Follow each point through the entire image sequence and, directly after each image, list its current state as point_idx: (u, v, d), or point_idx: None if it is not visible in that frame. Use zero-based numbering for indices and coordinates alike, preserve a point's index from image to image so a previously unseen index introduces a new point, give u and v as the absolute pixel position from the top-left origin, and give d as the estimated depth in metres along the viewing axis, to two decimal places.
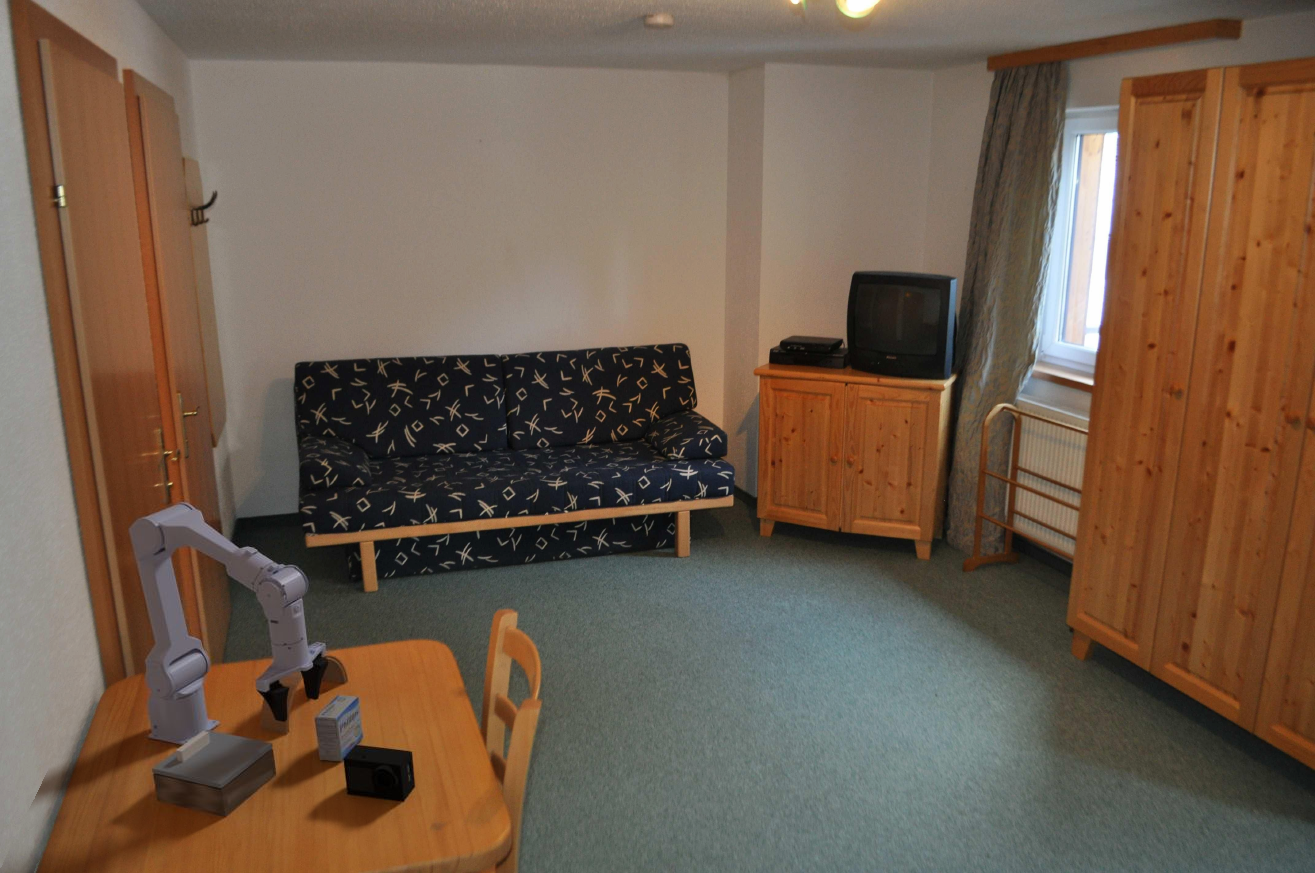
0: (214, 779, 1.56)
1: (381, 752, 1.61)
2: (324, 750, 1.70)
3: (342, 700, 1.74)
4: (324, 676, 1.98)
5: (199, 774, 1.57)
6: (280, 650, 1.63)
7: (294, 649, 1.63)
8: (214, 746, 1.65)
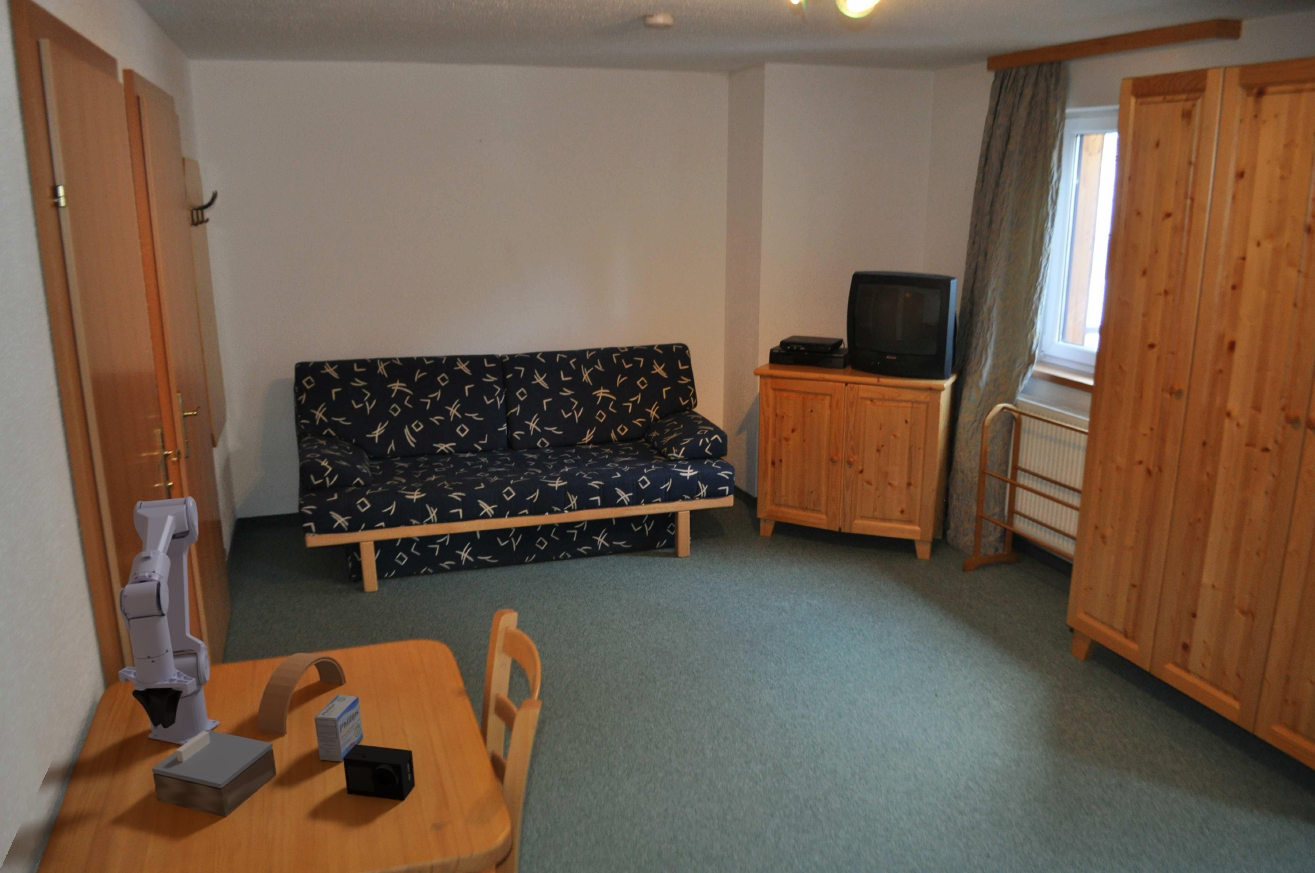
0: (214, 779, 1.56)
1: (381, 751, 1.61)
2: (324, 750, 1.70)
3: (342, 700, 1.74)
4: (322, 677, 1.97)
5: (199, 774, 1.57)
6: None
7: (134, 662, 1.59)
8: (214, 746, 1.65)
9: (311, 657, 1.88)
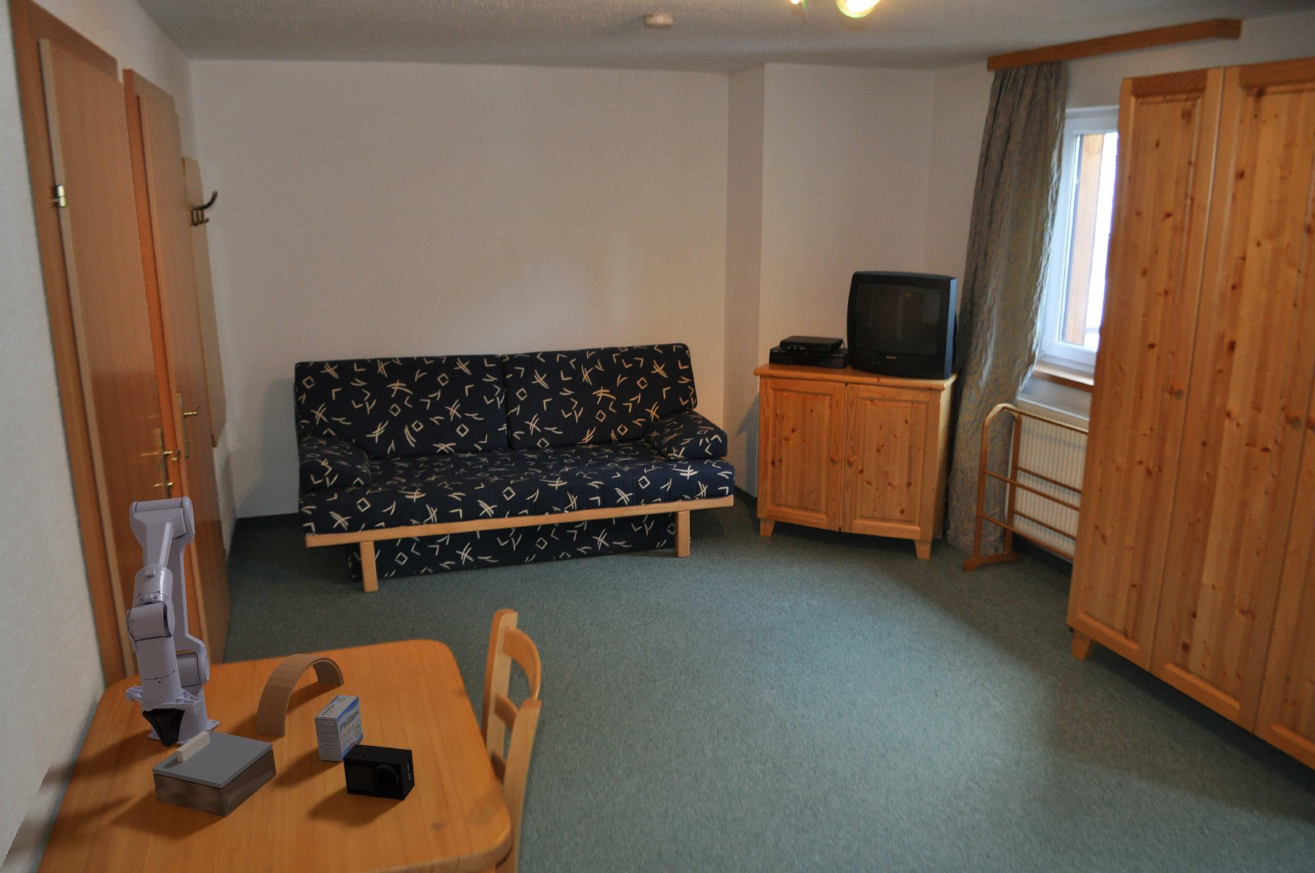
0: (214, 779, 1.56)
1: (381, 751, 1.61)
2: (324, 750, 1.70)
3: (342, 700, 1.74)
4: (320, 678, 1.97)
5: (199, 774, 1.57)
6: None
7: (141, 682, 1.60)
8: (214, 746, 1.65)
9: (309, 658, 1.87)
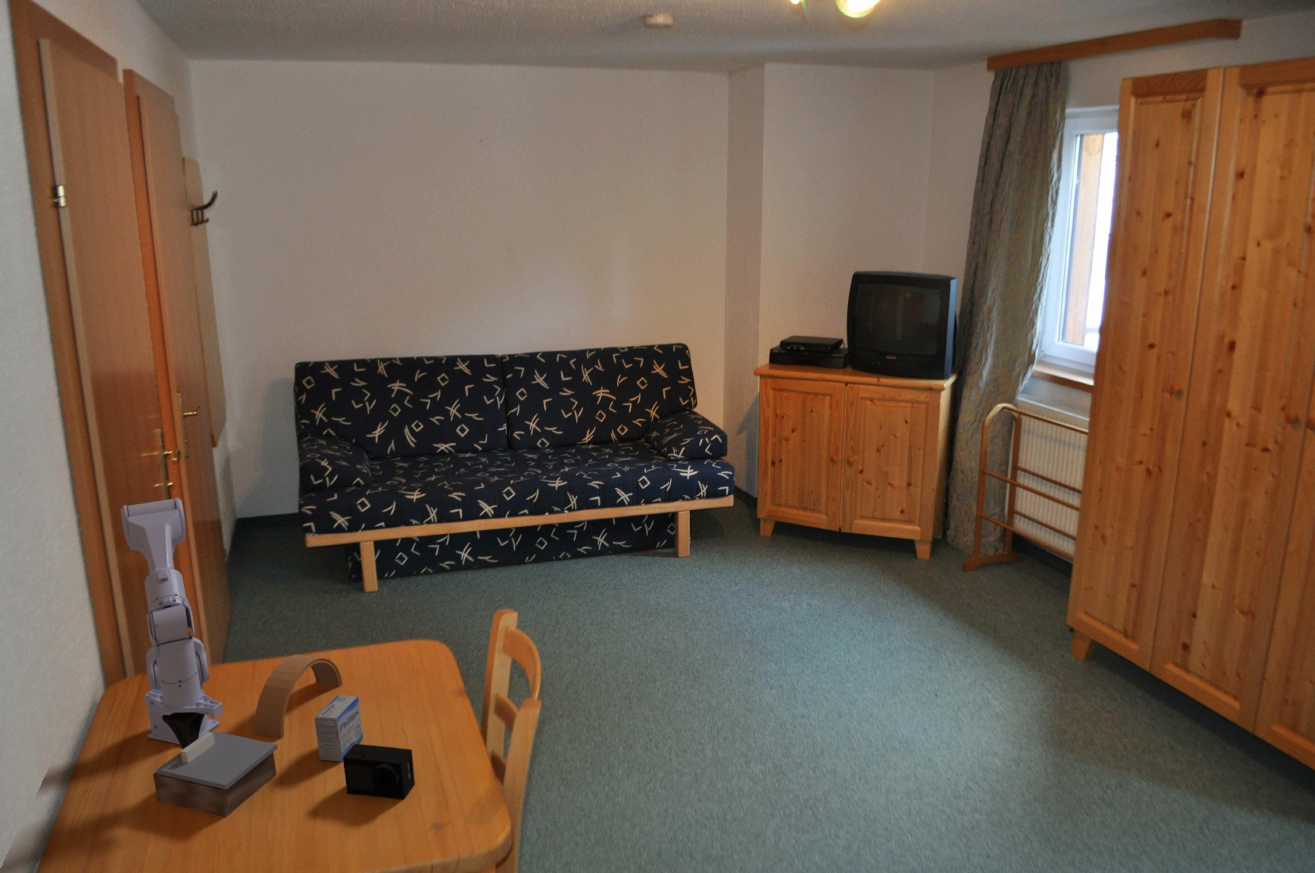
0: (219, 780, 1.55)
1: (381, 751, 1.62)
2: (324, 750, 1.70)
3: (342, 700, 1.74)
4: (318, 679, 1.97)
5: (203, 775, 1.57)
6: None
7: (161, 686, 1.58)
8: (219, 747, 1.65)
9: (308, 659, 1.87)
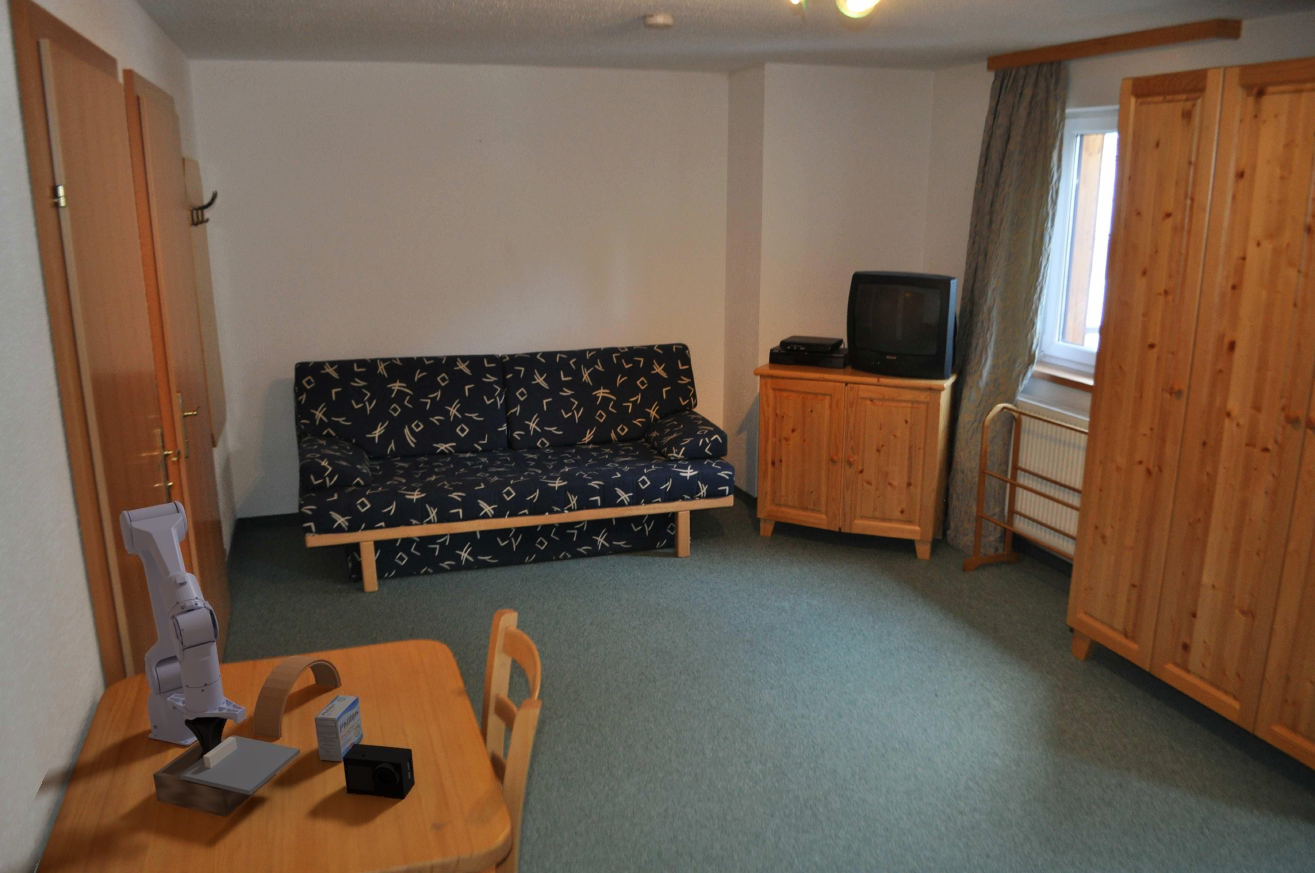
0: (243, 786, 1.54)
1: (381, 750, 1.62)
2: (324, 750, 1.70)
3: (342, 700, 1.74)
4: (317, 680, 1.96)
5: (227, 781, 1.55)
6: None
7: (184, 690, 1.57)
8: (241, 752, 1.63)
9: (306, 660, 1.87)
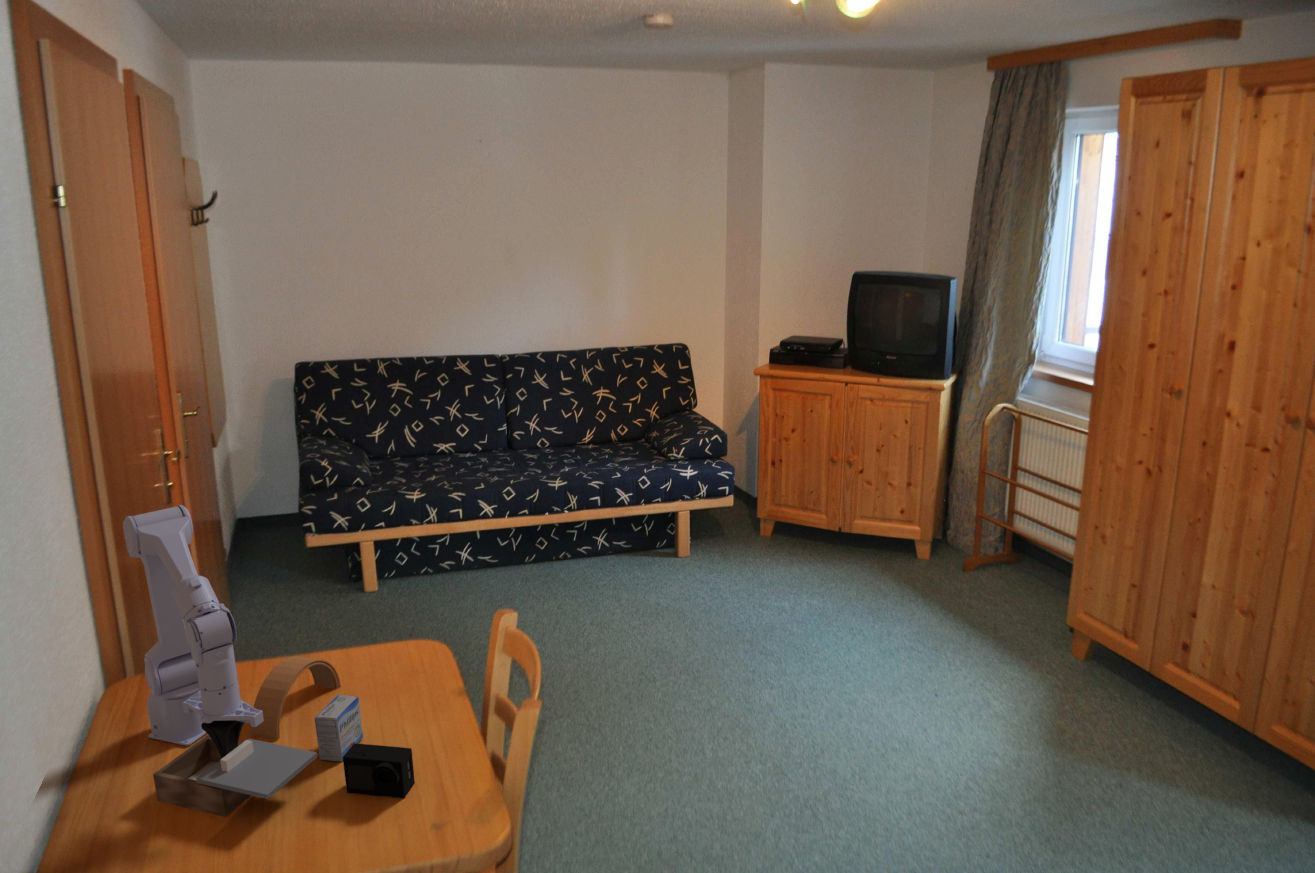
0: (260, 790, 1.53)
1: (380, 750, 1.62)
2: (324, 750, 1.70)
3: (342, 700, 1.74)
4: (316, 681, 1.96)
5: (244, 785, 1.54)
6: None
7: (201, 694, 1.56)
8: (258, 755, 1.62)
9: (305, 661, 1.86)
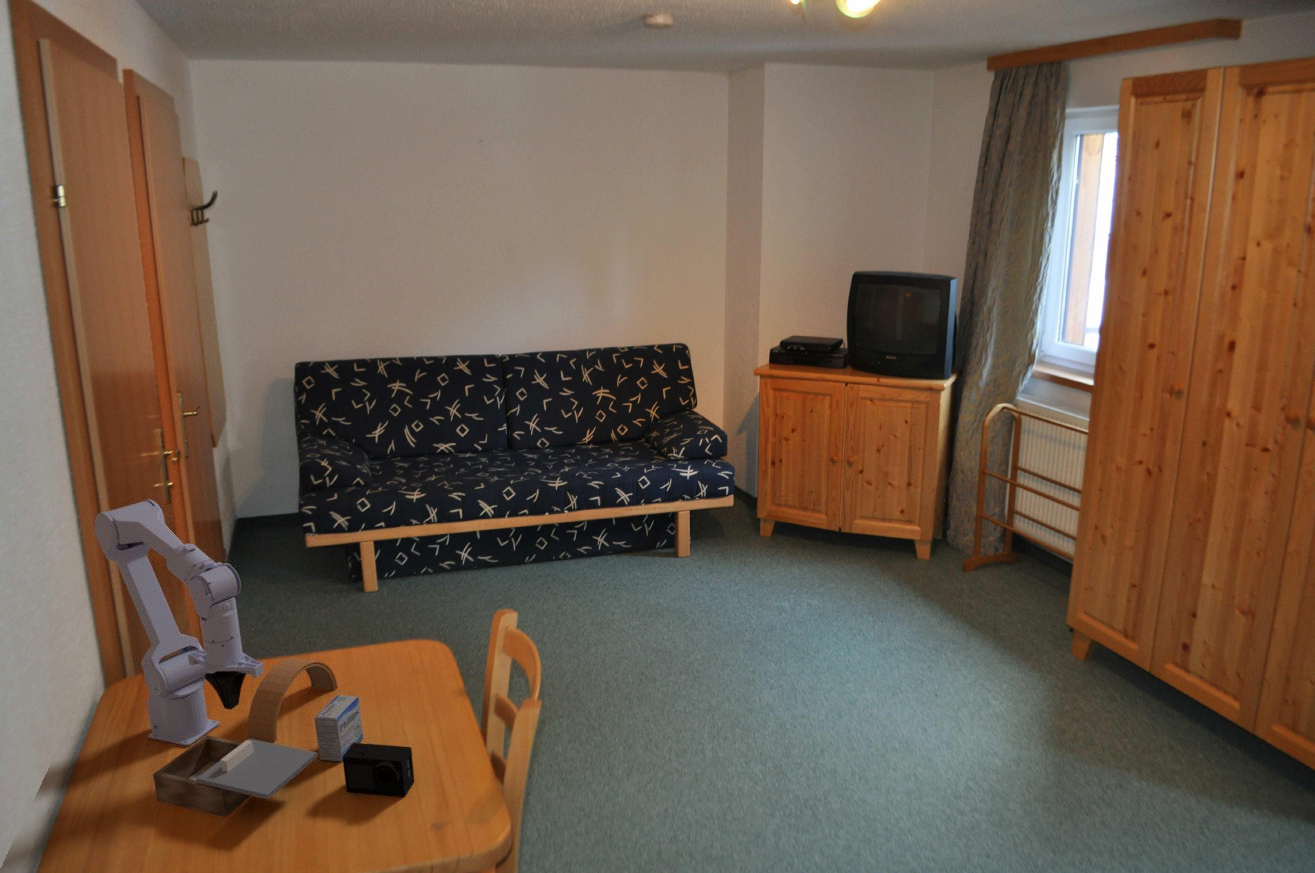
0: (261, 790, 1.53)
1: (380, 749, 1.62)
2: (324, 750, 1.70)
3: (342, 700, 1.74)
4: (313, 683, 1.95)
5: (244, 785, 1.54)
6: None
7: (205, 645, 1.64)
8: (258, 755, 1.62)
9: (302, 662, 1.86)
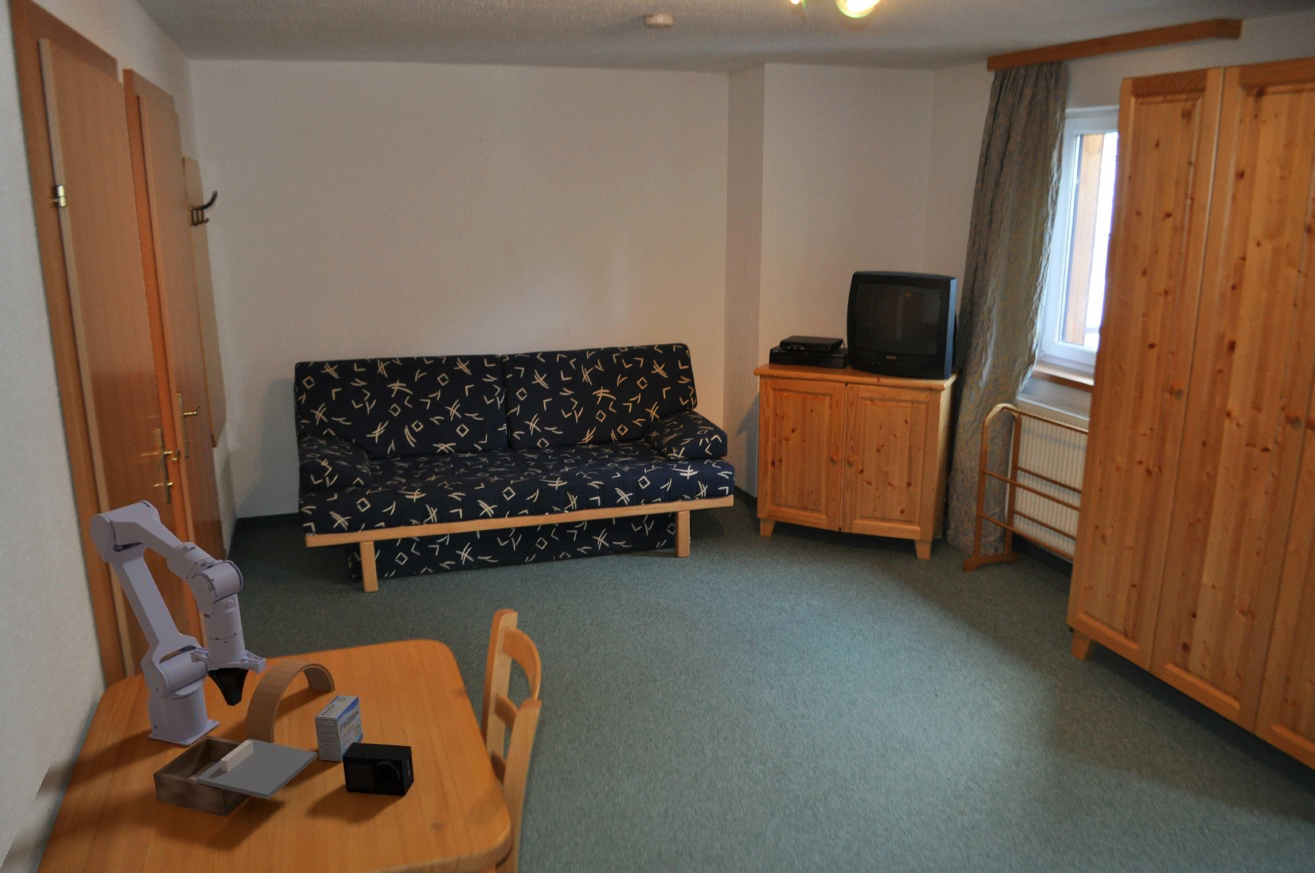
0: (261, 790, 1.53)
1: (380, 748, 1.62)
2: (324, 750, 1.70)
3: (342, 700, 1.74)
4: (311, 684, 1.95)
5: (244, 785, 1.54)
6: None
7: (207, 642, 1.65)
8: (258, 755, 1.62)
9: (299, 664, 1.85)
